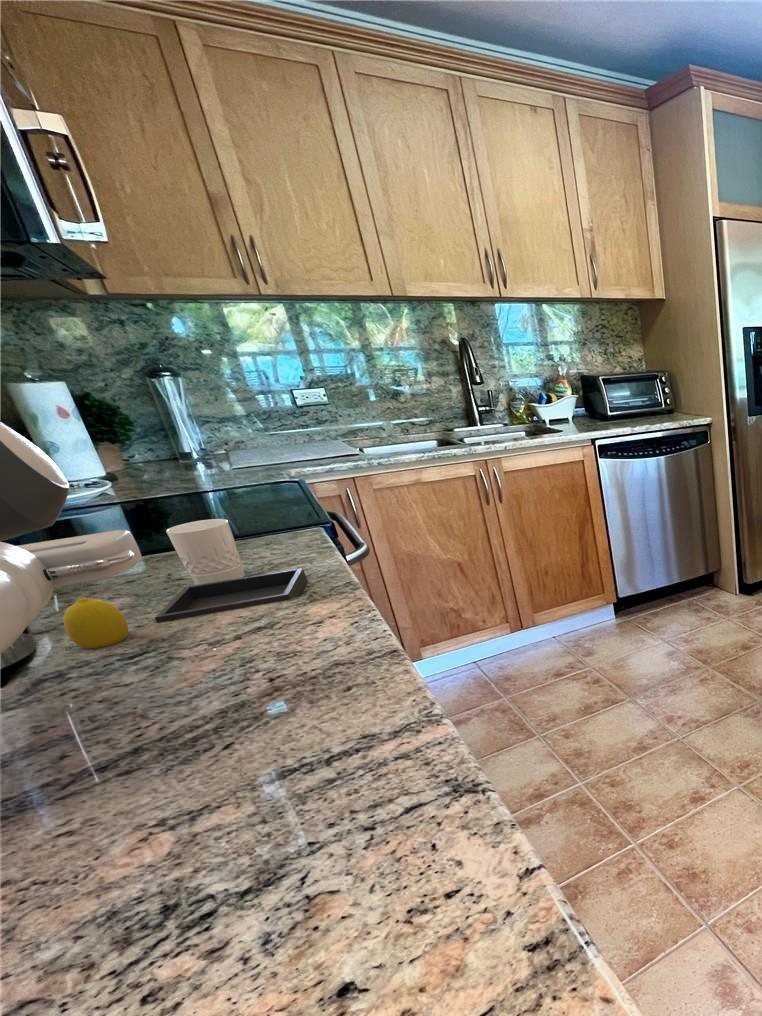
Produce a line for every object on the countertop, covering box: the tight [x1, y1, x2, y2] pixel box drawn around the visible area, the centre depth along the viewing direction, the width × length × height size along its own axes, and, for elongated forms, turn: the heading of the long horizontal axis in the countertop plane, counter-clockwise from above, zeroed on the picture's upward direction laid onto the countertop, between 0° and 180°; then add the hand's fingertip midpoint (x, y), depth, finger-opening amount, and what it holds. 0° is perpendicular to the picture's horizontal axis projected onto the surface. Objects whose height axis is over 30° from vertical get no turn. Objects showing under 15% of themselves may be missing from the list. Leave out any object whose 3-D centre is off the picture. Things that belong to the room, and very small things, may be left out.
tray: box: [154, 567, 308, 624], centre depth 100 cm, size 16×14×2 cm
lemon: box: [62, 597, 129, 650], centre depth 85 cm, size 6×6×8 cm
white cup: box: [165, 518, 246, 585], centre depth 109 cm, size 8×8×10 cm
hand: (20, 553), depth 71 cm, fingers open, 8 cm apart
